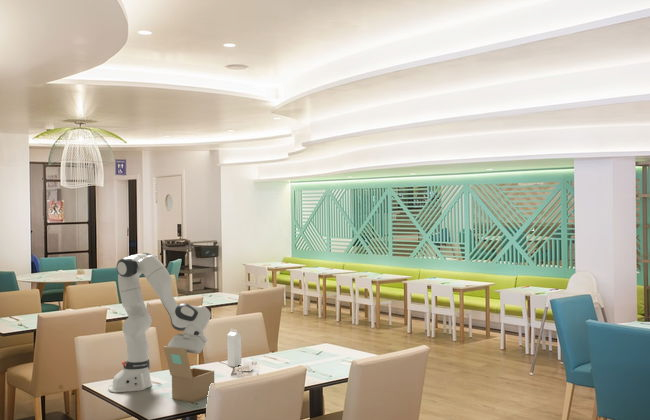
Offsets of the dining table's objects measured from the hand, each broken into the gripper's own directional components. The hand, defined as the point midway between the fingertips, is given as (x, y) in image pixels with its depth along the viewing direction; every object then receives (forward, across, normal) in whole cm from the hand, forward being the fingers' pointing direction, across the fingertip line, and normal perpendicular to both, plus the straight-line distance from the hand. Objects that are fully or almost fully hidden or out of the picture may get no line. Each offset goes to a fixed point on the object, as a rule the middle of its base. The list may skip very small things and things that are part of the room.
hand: (178, 358), depth 321 cm
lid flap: (+1, 0, +1) cm, 2 cm away
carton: (+8, 0, +22) cm, 24 cm away
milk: (-35, -23, +66) cm, 78 cm away
